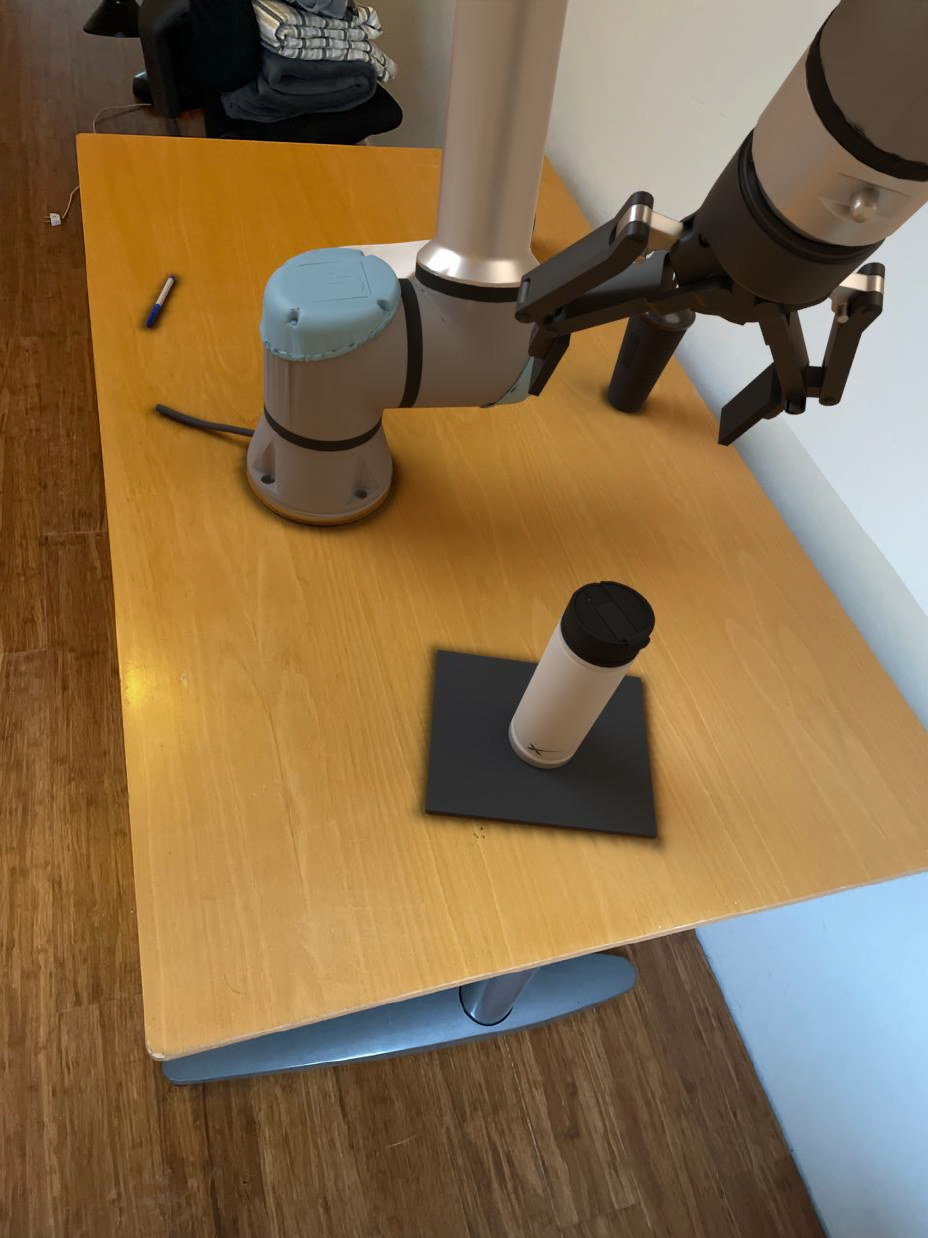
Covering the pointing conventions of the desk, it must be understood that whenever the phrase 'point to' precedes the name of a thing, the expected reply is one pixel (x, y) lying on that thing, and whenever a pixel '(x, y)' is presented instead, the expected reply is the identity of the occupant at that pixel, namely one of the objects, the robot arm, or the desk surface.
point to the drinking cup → (645, 355)
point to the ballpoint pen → (159, 302)
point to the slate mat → (513, 789)
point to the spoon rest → (395, 255)
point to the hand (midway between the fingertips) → (631, 402)
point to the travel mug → (580, 671)
